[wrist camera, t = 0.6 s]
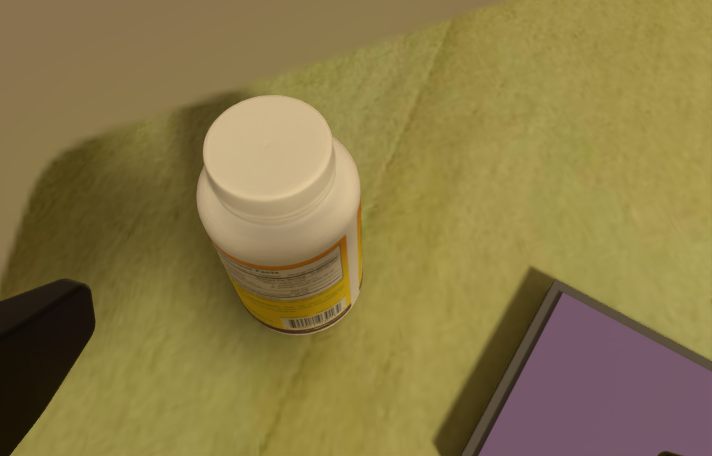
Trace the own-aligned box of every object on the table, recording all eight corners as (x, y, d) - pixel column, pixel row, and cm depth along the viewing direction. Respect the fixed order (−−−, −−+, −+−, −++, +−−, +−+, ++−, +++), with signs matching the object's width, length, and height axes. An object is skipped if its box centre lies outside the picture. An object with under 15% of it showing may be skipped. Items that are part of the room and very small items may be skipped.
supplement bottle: (287, 207, 29) (251, 49, 20) (386, 263, 27) (395, 119, 18) (213, 299, 27) (135, 167, 18) (317, 365, 25) (288, 257, 16)
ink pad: (683, 627, 21) (702, 631, 19) (450, 474, 23) (454, 469, 22) (756, 401, 24) (777, 393, 23) (548, 290, 27) (556, 277, 25)
